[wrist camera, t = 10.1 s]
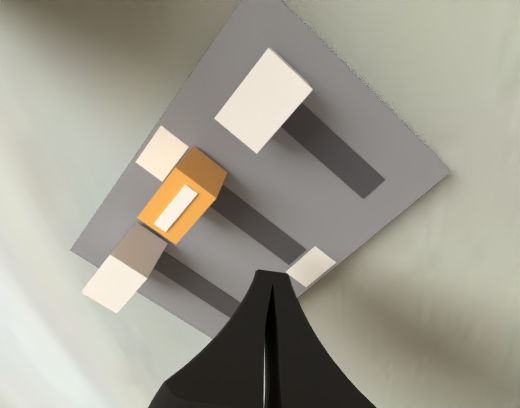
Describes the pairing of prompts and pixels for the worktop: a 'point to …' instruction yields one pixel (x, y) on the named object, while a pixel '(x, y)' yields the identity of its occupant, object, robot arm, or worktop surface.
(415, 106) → the worktop surface
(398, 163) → the breaker panel
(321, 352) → the robot arm
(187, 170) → the breaker
